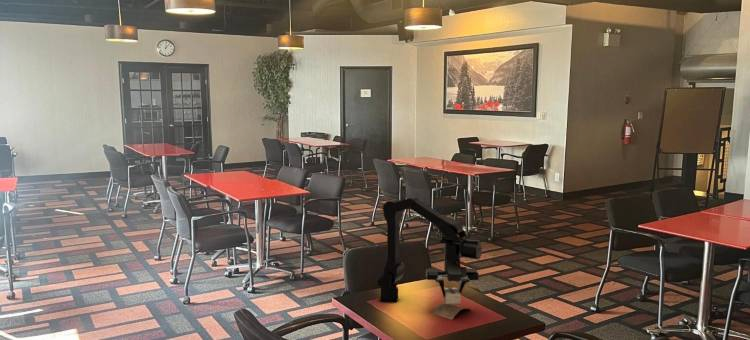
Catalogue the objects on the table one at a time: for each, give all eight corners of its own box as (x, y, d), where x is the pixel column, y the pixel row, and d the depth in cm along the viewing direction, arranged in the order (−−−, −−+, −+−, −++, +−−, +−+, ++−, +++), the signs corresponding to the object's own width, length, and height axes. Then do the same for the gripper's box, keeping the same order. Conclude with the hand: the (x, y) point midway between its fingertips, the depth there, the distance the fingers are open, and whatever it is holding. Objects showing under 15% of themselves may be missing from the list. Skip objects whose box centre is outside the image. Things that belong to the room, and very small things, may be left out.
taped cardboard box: (442, 297, 218) (442, 287, 218) (455, 296, 219) (456, 287, 218) (446, 303, 211) (447, 293, 211) (460, 303, 212) (460, 293, 211)
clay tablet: (451, 322, 207) (452, 314, 207) (428, 315, 214) (429, 308, 214) (473, 311, 218) (473, 304, 218) (450, 305, 225) (451, 298, 225)
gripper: (428, 261, 205) (428, 304, 207) (481, 261, 205) (480, 304, 207) (426, 253, 216) (425, 293, 218) (476, 253, 216) (475, 294, 218)
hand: (451, 296), depth 215 cm, fingers closed on taped cardboard box, 5 cm apart
